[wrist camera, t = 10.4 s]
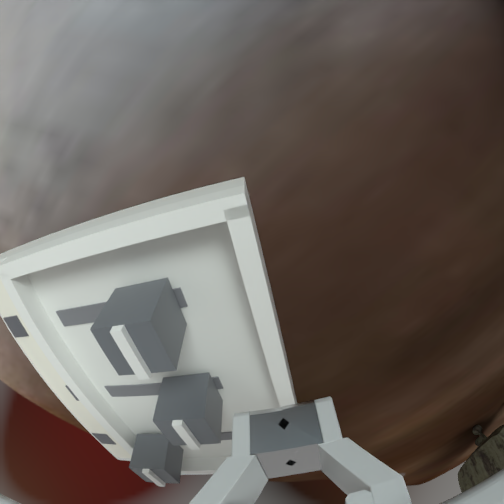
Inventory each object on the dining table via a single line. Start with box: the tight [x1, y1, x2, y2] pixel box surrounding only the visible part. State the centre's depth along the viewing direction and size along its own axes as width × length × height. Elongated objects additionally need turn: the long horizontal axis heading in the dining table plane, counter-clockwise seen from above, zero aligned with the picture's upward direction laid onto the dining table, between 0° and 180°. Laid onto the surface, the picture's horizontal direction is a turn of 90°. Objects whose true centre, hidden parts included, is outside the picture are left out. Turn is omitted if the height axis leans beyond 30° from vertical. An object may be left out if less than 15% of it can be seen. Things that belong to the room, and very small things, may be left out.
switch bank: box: [0, 177, 297, 475], centre depth 20 cm, size 24×20×4 cm
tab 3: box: [153, 372, 223, 450], centre depth 17 cm, size 3×3×4 cm
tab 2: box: [129, 434, 184, 487], centre depth 20 cm, size 3×3×4 cm
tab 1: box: [90, 278, 187, 380], centre depth 14 cm, size 3×3×4 cm
